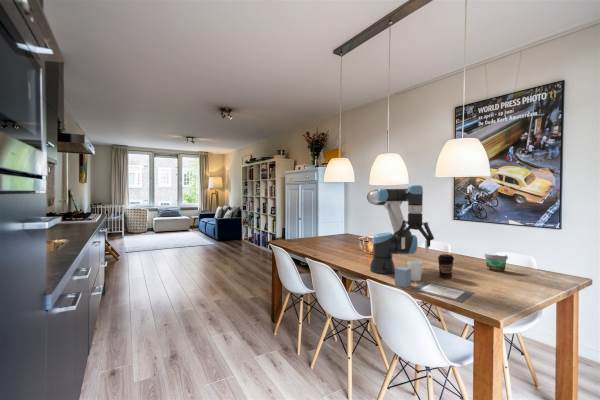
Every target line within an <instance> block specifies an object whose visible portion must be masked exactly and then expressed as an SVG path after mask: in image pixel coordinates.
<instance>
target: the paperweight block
mask: <svg viewBox="0 0 600 400" xmlns="http://www.w3.org/2000/svg"><path fill="white" fill-rule="evenodd" d="M394 286H397V287H401V288H404V287H405V289H406V288H408V287H410V286H412V281H411V268H407V266H398V267H395V272H394Z"/></svg>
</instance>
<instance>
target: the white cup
mask: <svg viewBox="0 0 600 400" xmlns="http://www.w3.org/2000/svg"><path fill="white" fill-rule="evenodd" d="M406 263H407V265H406V268H411V282H412V281H413V282H420V281H421V280H422V274H423V273H422V272H423V271H422V270H423V261H421V260H416V259H412V260H411V259H410V260H407V261H406Z"/></svg>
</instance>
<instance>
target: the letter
mask: <svg viewBox="0 0 600 400" xmlns="http://www.w3.org/2000/svg"><path fill="white" fill-rule="evenodd" d="M420 290H422V291H426V292H430V293H434V294H438V295H442V296H446V297H450V298H454V299H456V298H457V297H459V296H460V295H461V294H463V293H464V291H459V290H455V289H451V288H446V287H442V286H437V285H433V284H429V285H427V286H425V287H423V288H421V289H420Z"/></svg>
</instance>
